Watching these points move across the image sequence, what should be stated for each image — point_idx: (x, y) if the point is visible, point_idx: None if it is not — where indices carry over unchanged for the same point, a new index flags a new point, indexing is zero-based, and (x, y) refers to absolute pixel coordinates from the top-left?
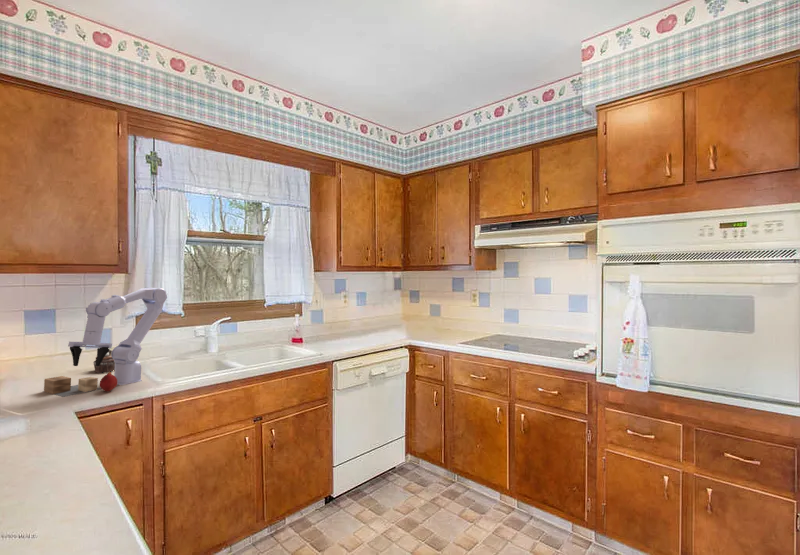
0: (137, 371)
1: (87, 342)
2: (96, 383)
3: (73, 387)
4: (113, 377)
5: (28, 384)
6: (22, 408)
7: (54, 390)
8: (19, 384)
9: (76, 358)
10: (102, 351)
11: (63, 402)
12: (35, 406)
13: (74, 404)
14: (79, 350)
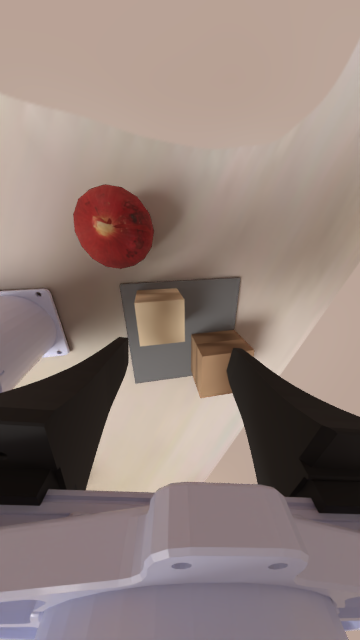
0: None
1: (335, 610)
2: (139, 296)
3: (168, 361)
4: (96, 193)
5: (202, 442)
6: (338, 254)
7: (234, 334)
8: (210, 449)
9: (273, 372)
10: (73, 404)
11: (269, 223)
12: (318, 246)
13: (274, 159)
14: (332, 416)
